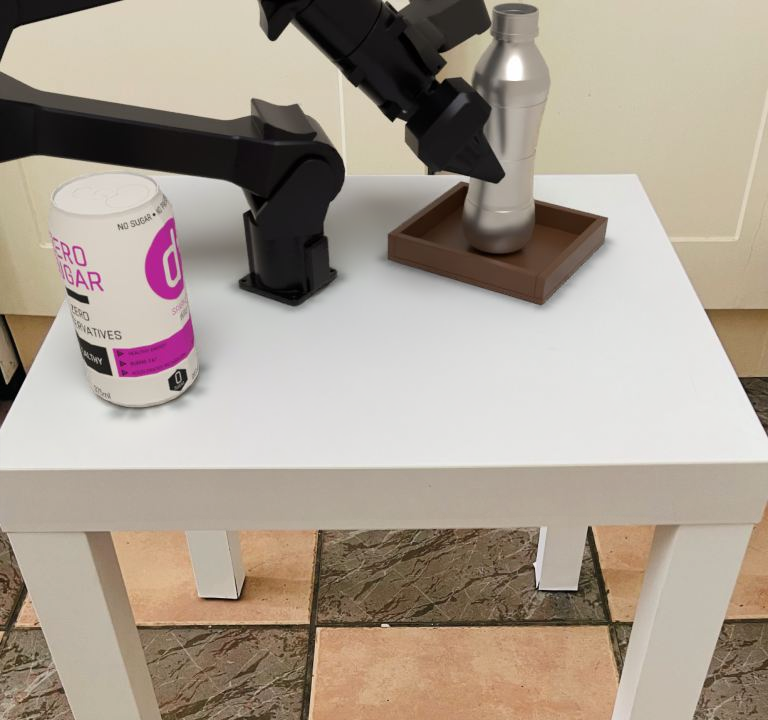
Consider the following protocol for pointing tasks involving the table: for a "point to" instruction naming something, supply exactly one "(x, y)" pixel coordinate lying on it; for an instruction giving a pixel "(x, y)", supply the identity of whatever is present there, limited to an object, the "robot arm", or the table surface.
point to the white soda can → (124, 286)
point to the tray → (499, 270)
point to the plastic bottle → (508, 130)
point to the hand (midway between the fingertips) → (481, 158)
